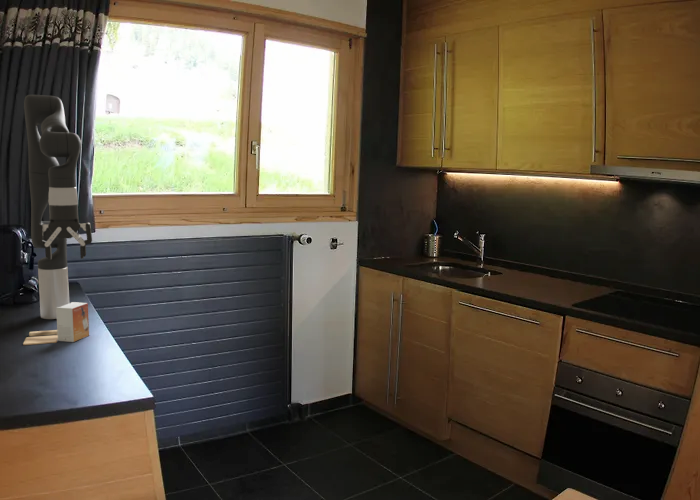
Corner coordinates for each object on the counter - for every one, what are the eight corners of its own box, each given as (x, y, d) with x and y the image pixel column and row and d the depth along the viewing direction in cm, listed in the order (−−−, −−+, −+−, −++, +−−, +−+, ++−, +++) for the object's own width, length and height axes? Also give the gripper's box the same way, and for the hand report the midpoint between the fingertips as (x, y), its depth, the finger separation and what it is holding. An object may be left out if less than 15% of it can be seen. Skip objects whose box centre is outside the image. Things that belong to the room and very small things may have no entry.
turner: (28, 337, 192) (28, 334, 191) (30, 333, 196) (30, 330, 196) (78, 333, 197) (78, 330, 197) (78, 329, 201) (78, 326, 201)
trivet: (26, 338, 191) (26, 337, 191) (58, 336, 194) (58, 334, 194) (23, 345, 184) (23, 343, 184) (56, 342, 187) (56, 341, 187)
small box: (73, 342, 187) (72, 308, 186) (57, 341, 189) (55, 307, 187) (90, 335, 195) (88, 302, 194) (74, 334, 196) (72, 301, 195)
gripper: (91, 201, 184) (93, 255, 187) (37, 201, 180) (40, 257, 182) (89, 204, 177) (91, 260, 180) (33, 204, 173) (37, 262, 175)
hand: (66, 258), depth 181 cm, fingers open, 8 cm apart
